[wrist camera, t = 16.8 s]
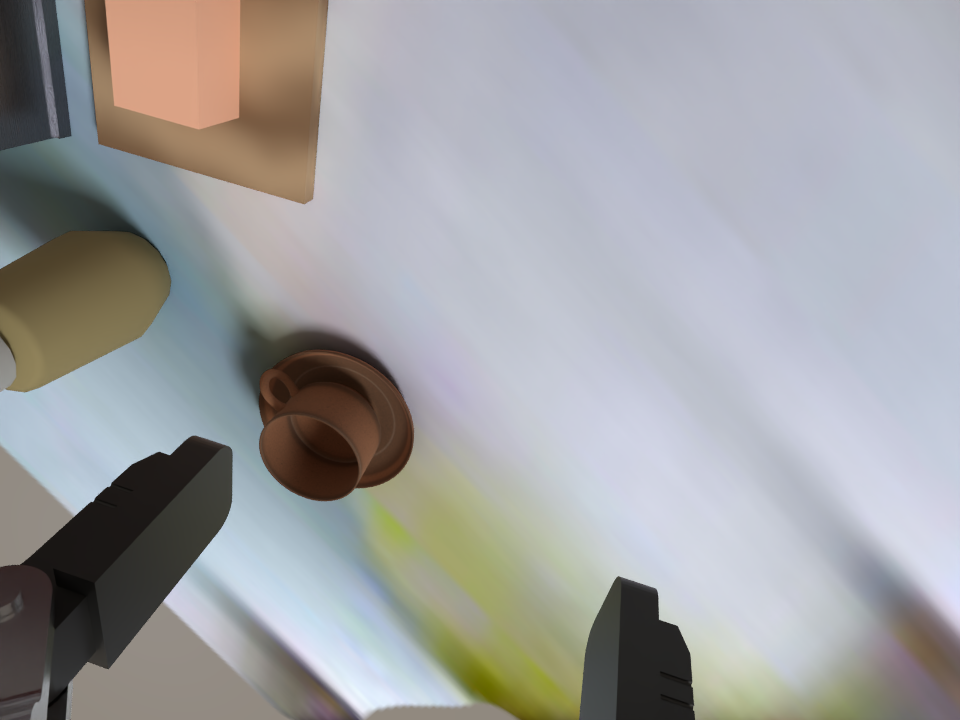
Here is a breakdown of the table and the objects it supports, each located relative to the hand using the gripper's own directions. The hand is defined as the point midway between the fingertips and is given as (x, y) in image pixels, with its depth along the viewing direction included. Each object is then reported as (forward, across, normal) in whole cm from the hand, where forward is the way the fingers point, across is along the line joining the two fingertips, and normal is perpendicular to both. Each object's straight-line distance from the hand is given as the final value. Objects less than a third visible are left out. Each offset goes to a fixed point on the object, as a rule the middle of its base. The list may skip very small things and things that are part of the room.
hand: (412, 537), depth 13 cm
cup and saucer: (+28, +11, +21) cm, 37 cm away
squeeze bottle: (+28, +28, +14) cm, 42 cm away
